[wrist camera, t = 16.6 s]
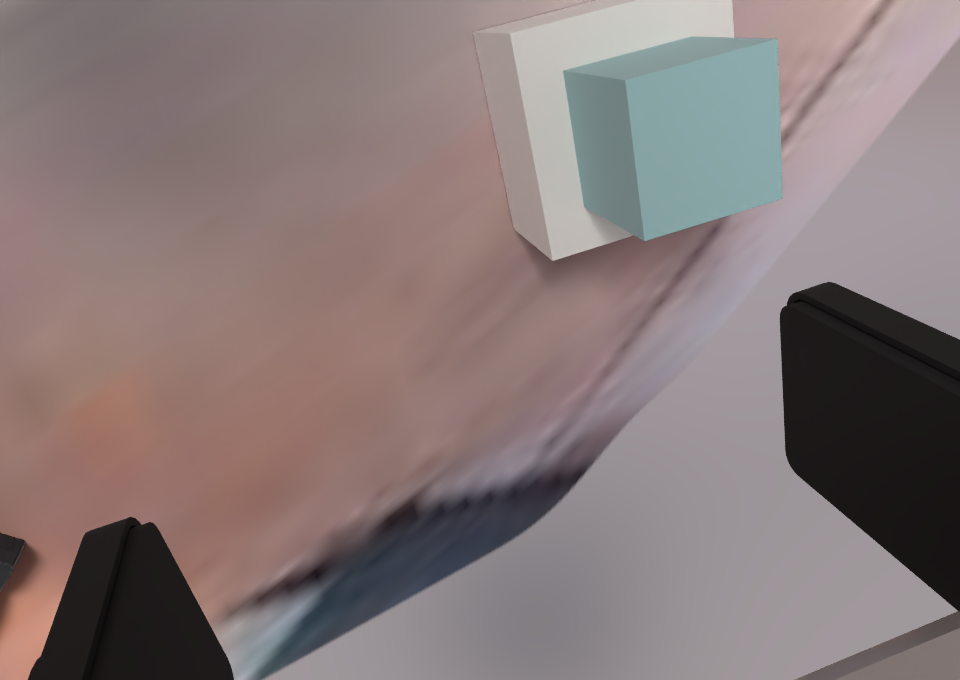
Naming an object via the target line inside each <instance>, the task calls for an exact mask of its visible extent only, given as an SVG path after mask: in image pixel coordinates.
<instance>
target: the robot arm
mask: <svg viewBox="0 0 960 680" xmlns="http://www.w3.org/2000/svg"><path fill="white" fill-rule="evenodd" d="M780 333H781V355H782V380H783V402H784V426H785V449H786V456H787V459H788V462H789V464H790V466H791V468H792V469H793V470H794V472H795V473H796V474H797V475H798V476H799V477H800V478H802V479H803V480H804V481H805V482H806V483H808V484H809V485H810V486H811V487H812V488H813V489H815V490H816V491H817V492H818V493H819V494H820V495H822V496H823V497H824V498H825V499H827V500H828V501H829V502H830V503H831V504H832V505H834V506H835V507H836V508H837V509H838V510H839V511H841V512H842V513H843V514H844V515H845V516H847V517H848V518H849V519H850V520H851V521H853V522H854V523H855V524H856V525H857V526H858V527H860V528H861V529H862V530H863V531H864V532H865V533H867V534H868V535H869V536H870V537H871V538H873V539H874V540H875V541H876V542H877V543H878V544H880V545H881V546H882V547H883V548H884V549H886V550H887V551H888V552H889V553H890V554H892V555H893V556H894V557H895V558H896V559H897V560H899V561H900V562H901V563H902V564H903V565H905V566H906V567H907V568H908V569H909V570H910V571H912V572H913V573H914V574H915V575H916V576H918V577H919V578H920V579H921V580H922V581H924V582H925V583H926V584H927V585H928V586H929V587H931V588H932V589H933V590H934V591H935V592H936V593H938V594H939V595H940V596H941V597H942V598H944V599H945V600H946V601H947V602H948V603H949V604H951V605H952V606H953V607H954V608H955V609H957V610H958V612H956V613H953V614H951V615H948V616H946V617H944V618H941V619H939V620H936V621H934V622H932V623H929V624H927V625H924V626H922V627H920V628H918V629H915V630H912V631H910V632H908V633H905V634H903V635H900V636H898V637H896V638H893V639H891V640H889V641H886V642H884V643H881V644H879V645H877V646H874V647H872V648H869V649H867V650H864V651H862V652H860V653H857V654H855V655H853V656H850V657H848V658H845V659H843V660H841V661H838V662H836V663H833V664H831V665H829V666H826V667H824V668H821V669H819V670H817V671H814V672H812V673H810V674H808V675H805V676H803V677H800V678H798V679H795V680H960V340H959V339H957V338H955V337H952V336H950V335H948V334H946V333H944V332H941V331H939V330H937V329H935V328H933V327H930V326H928V325H926V324H924V323H921V322H919V321H917V320H915V319H913V318H910V317H908V316H906V315H904V314H902V313H900V312H897V311H895V310H893V309H891V308H889V307H886V306H884V305H882V304H879V303H877V302H875V301H873V300H871V299H869V298H866V297H864V296H862V295H860V294H858V293H855V292H853V291H851V290H849V289H847V288H844V287H842V286H840V285H838V284H836V283H832V282H827V283H823V284H820V285H817V286H814V287H811V288H808V289H805V290H802V291H799V292H796V293H793V294H792V295H791V296H790V297H789V299H788V302H787V306H785V307H784V308H782V310H781V313H780ZM28 680H234V678H233V673H232V669H231V665H230V663H229V660H228V658H227V656H226V654H225V653H224V651H223V649H222V647H221V645H220V643H219V641H218V639H217V638H216V636H215V634H214V632H213V630H212V628H211V626H210V625H209V623H208V621H207V619H206V617H205V615H204V613H203V612H202V610H201V608H200V606H199V604H198V602H197V600H196V598H195V597H194V595H193V593H192V591H191V589H190V587H189V585H188V584H187V582H186V580H185V578H184V576H183V574H182V572H181V571H180V569H179V567H178V565H177V563H176V561H175V559H174V557H173V556H172V554H171V552H170V550H169V548H168V546H167V544H166V543H165V541H164V539H163V537H162V535H161V533H160V531H159V530H158V528H157V527H156V525H155V524H153V523H151V522H149V523H146V524H143V525H141V524H140V522H139V521H138V520H137V519H136V518H133V517H129V518H126V519H123V520H120V521H118V522H115V523H112V524H109V525H106V526H103V527H100V528H97V529H94V530H91V531H89V532H87V533H85V535H84V537H83V539H82V542H81V544H80V547H79V550H78V553H77V556H76V558H75V561H74V564H73V567H72V570H71V573H70V575H69V578H68V581H67V584H66V587H65V590H64V592H63V595H62V598H61V601H60V604H59V607H58V609H57V612H56V615H55V618H54V621H53V624H52V626H51V629H50V632H49V635H48V638H47V641H46V643H45V646H44V649H43V652H42V655H41V657H40V658H38V659H37V661H36V662H35V664H34V666H33V668H32V670H31V672H30V675H29V678H28Z"/></svg>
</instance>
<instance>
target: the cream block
mask: <svg viewBox="0 0 960 680" xmlns="http://www.w3.org/2000/svg"><path fill="white" fill-rule="evenodd" d="M473 36H474V41H475V46H476V50H477V55H478V60H479V65H480V70H481V74H482V79H483V84H484V89H485V94H486V98H487V103H488V108H489V113H490V117H491V122H492V127H493V132H494V137H495V141H496V146H497V151H498V156H499V161H500V165H501V170H502V175H503V180H504V184H505V189H506V194H507V199H508V204H509V208H510V213H511V218H512V223H513V228H514V230H516V231H517V232H518V233H519V234H520V235H522V236H523V237H524V238H525V239H527V240H528V241H529V242H530V243H531V244H533V245H534V246H535V247H536V248H538V249H539V250H540V251H541V252H542V253H544V254H545V255H546V256H547V257H549V258H550V259H551V260H552V261H554V260H557V259H561V258H564V257H567V256H570V255H573V254H577V253H580V252H583V251H586V250H589V249H593V248H596V247H599V246H602V245H605V244H609V243H612V242H615V241H618V240H621V239H624V238H628V237H631V236H634V235H633V234H631V233H629V232H627V231H626V230H624V229H622V228H620V227H619V226H617V225H615V224H613V223H612V222H610V221H608V220H606V219H604V218H603V217H601V216H599V215H597V214H596V213H594V212H592V211H590V210H589V209H587V208H585V207H584V203H583V196H582V190H581V184H580V177H579V171H578V164H577V158H576V151H575V145H574V138H573V132H572V126H571V119H570V113H569V106H568V100H567V93H566V87H565V80H564V74H563V70H567V69H571V68H575V67H578V66H582V65H586V64H590V63H593V62H597V61H601V60H605V59H608V58H612V57H616V56H620V55H624V54H627V53H631V52H635V51H639V50H642V49H646V48H650V47H654V46H657V45H661V44H665V43H669V42H672V41H676V40H680V39H684V38H688V37H691V36H694V37H730V38H734V26H733V9H732V0H595V1H591V2H587V3H583V4H579V5H575V6H572V7H568V8H564V9H560V10H556V11H552V12H549V13H545V14H541V15H537V16H533V17H529V18H525V19H522V20H518V21H514V22H510V23H506V24H502V25H499V26H495V27H491V28H487V29H483V30H479V31H476V32H473Z"/></svg>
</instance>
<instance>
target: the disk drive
mask: <svg viewBox="0 0 960 680" xmlns="http://www.w3.org/2000/svg"><path fill="white" fill-rule="evenodd" d="M25 544H26V542H25V541H24V540H23V539H18V538H15V537H12V536H8V535H6V534H1V533H0V593H1V591H2V589H3V587H4V586H5V584H6V582H7V580H8V578H9V577H10V575H11V573H12V572H13V570H14V568H15V566H16V564H17V562H18V560H19V557H20V555H21V553H22V550H23V548H24V546H25Z"/></svg>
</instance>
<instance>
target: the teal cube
mask: <svg viewBox="0 0 960 680" xmlns="http://www.w3.org/2000/svg"><path fill="white" fill-rule="evenodd" d="M563 74H564V80H565V87H566V93H567V100H568V106H569V113H570V119H571V126H572V132H573V138H574V145H575V151H576V158H577V164H578V171H579V177H580V184H581V190H582V196H583V203H584V207H585V208H587V209H589V210H590V211H592V212H594V213H596V214H597V215H599V216H601V217H603V218H604V219H606V220H608V221H610V222H612V223H613V224H615V225H617V226H619V227H620V228H622V229H624V230H626V231H627V232H629V233H631V234H633V235H634V236H636V237H638V238H640V239H641V240H643V241H647V240H651V239H654V238H657V237H660V236H664V235H667V234H670V233H673V232H676V231H680V230H683V229H686V228H689V227H693V226H696V225H699V224H702V223H706V222H709V221H712V220H715V219H719V218H722V217H725V216H728V215H732V214H735V213H738V212H741V211H745V210H748V209H751V208H754V207H758V206H761V205H764V204H767V203H771V202H774V201H777V200H780V199H783V195H782V163H781V131H780V99H779V67H778V39H766V38H730V37H694V36H691V37H688V38H684V39H680V40H676V41H672V42H669V43H665V44H661V45H657V46H654V47H650V48H646V49H642V50H639V51H635V52H631V53H627V54H624V55H620V56H616V57H612V58H608V59H605V60H601V61H597V62H593V63H590V64H586V65H582V66H578V67H575V68H571V69H567V70H563Z"/></svg>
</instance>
